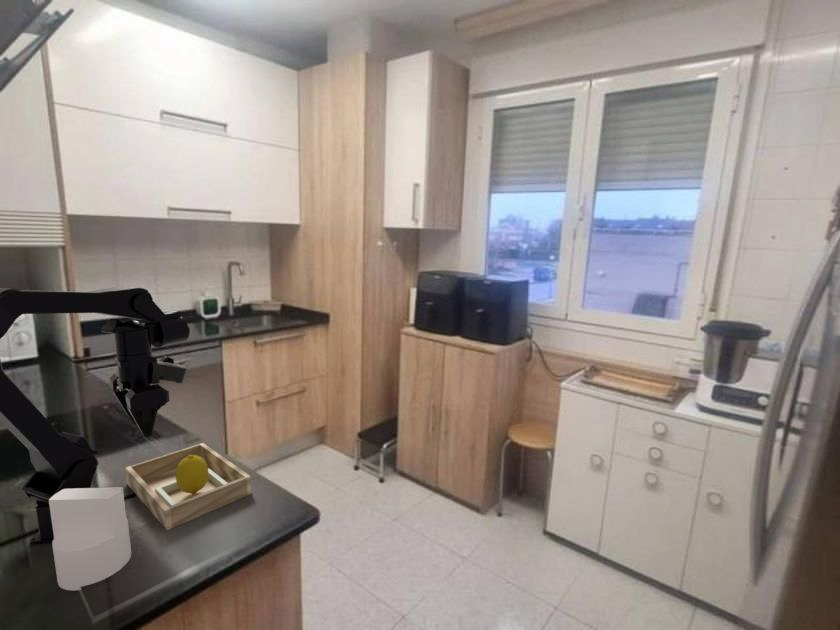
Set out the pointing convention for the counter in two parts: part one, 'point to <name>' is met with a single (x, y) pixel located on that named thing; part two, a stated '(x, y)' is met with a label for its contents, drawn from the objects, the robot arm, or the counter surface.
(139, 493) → the walled box
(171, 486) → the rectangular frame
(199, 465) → the lemon
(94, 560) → the grey upright block
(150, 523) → the counter surface
